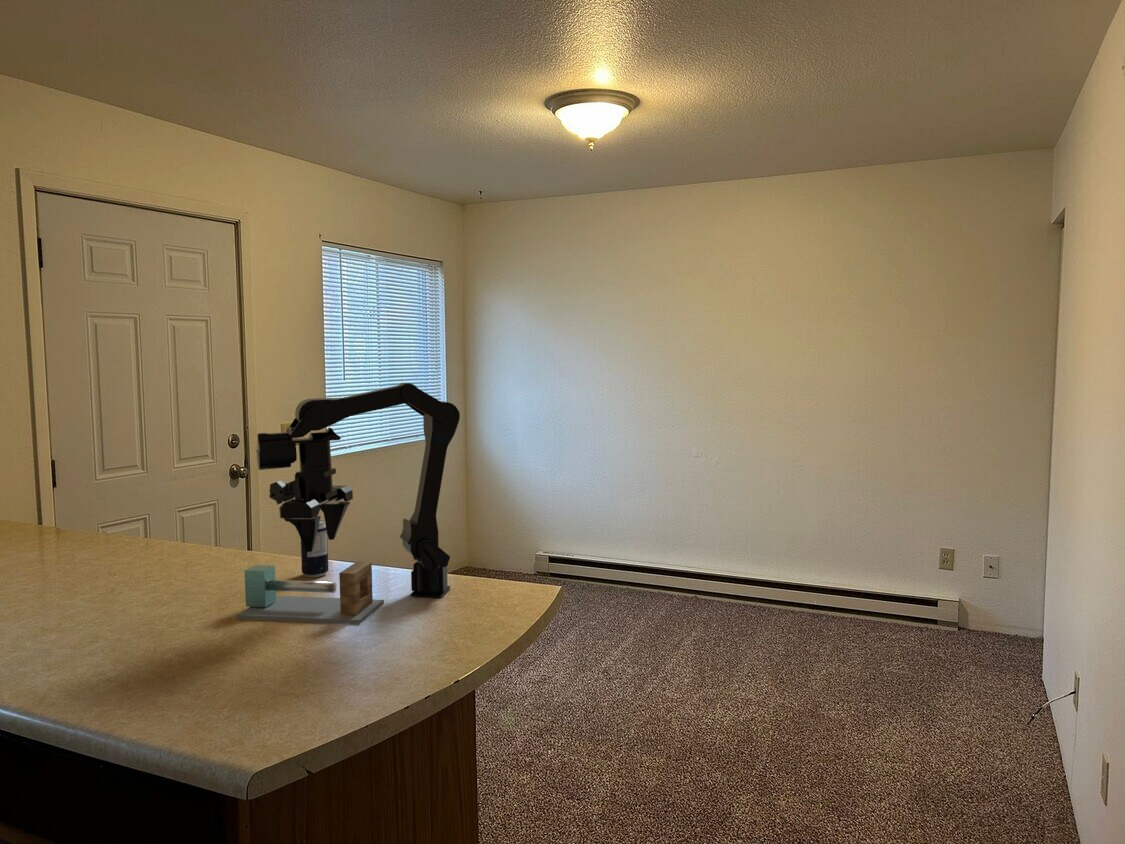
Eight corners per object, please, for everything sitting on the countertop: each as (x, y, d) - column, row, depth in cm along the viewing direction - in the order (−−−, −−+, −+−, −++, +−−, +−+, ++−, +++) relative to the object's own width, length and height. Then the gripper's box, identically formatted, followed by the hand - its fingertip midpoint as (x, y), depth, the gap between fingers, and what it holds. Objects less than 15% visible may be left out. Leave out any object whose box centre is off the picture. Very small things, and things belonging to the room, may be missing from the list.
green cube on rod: (339, 603, 151) (338, 567, 150) (330, 609, 147) (328, 573, 146) (257, 600, 153) (255, 564, 153) (245, 606, 149) (244, 570, 149)
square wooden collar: (372, 602, 152) (371, 562, 151) (356, 616, 144) (354, 573, 143) (358, 602, 152) (356, 561, 152) (340, 615, 144) (339, 573, 144)
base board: (384, 603, 154) (383, 599, 154) (359, 624, 142) (359, 620, 142) (269, 599, 157) (269, 595, 157) (236, 619, 145) (236, 614, 145)
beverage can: (332, 571, 177) (330, 519, 176) (322, 578, 172) (320, 524, 171) (308, 571, 178) (306, 519, 177) (297, 578, 172) (295, 524, 171)
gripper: (300, 458, 159) (305, 533, 161) (249, 473, 141) (255, 558, 142) (351, 457, 158) (356, 533, 159) (307, 472, 139) (312, 558, 141)
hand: (320, 545), depth 150 cm, fingers open, 9 cm apart
